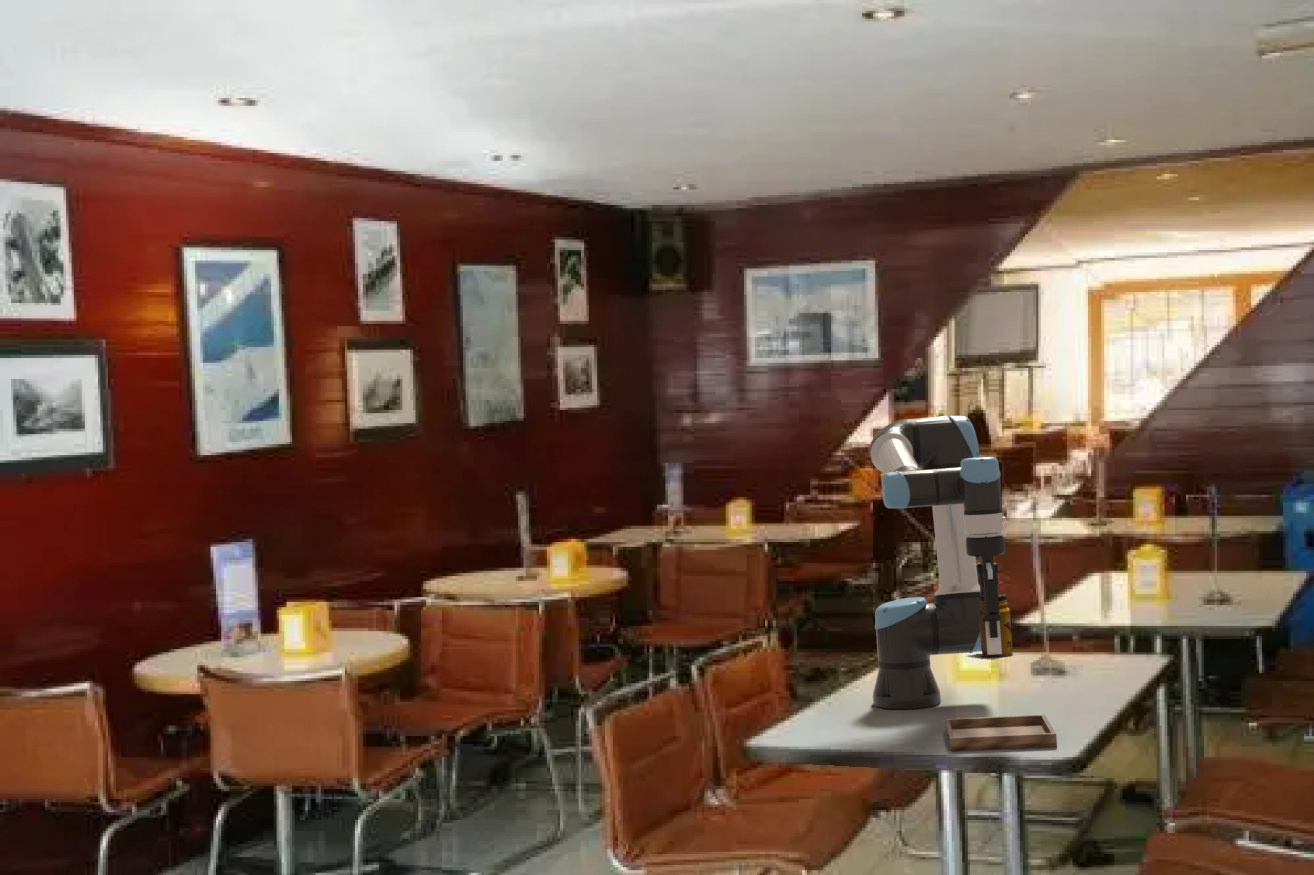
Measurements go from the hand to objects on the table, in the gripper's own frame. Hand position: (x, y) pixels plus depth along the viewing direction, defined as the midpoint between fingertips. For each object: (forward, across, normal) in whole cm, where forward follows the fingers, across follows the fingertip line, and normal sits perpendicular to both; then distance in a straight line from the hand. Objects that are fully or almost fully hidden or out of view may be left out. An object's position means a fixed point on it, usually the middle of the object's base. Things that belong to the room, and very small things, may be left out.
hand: (993, 651), depth 295 cm
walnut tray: (+17, 0, 0) cm, 17 cm away
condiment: (+1, 0, 0) cm, 1 cm away
